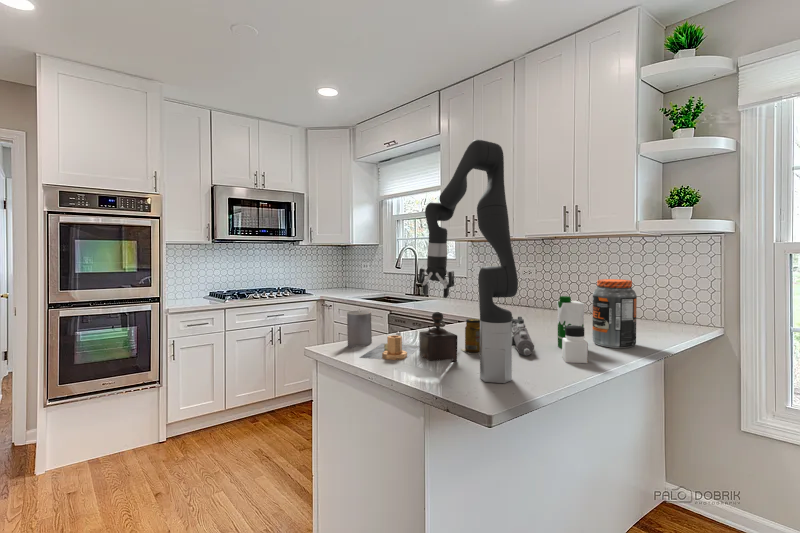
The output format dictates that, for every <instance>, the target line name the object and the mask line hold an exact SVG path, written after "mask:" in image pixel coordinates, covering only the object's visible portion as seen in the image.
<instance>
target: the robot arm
mask: <svg viewBox="0 0 800 533" xmlns="http://www.w3.org/2000/svg"><path fill="white" fill-rule="evenodd" d="M504 157H505V156H504V150H503V148H502V146H501V145H500V144H498V143H496V142H492V141H488V140H483V139H474V140H473V141H471V142H470V143H469V144H468V146H467V147H466V150H465V151H464V153H463V155H462V157H461V159H460V161H459V163H458V166H457V167H456V168H455V172H454V174H453V175H452V178H451V179H450V181H449V182H448V184H447V185H446V186H445V188H444V189H443V190H442V192H441V193H440V195H439V197H438V198H439V199H438V200H439V202H438V201H436V202H435V201H431V202H429V203H427V205H426V207H425V209H424V214H425V219H426V223H427V229H428V245H427V255H426V256H427V260H426V266H427V267H426V268H425V267H422V268H420V269H419V274H418V283H419V284H421V285H422V294H423V295H424V296H427V295H428V294H429V283H430V282H431V281H432V282H434V281H436V282H440V283H441V284H442V286H443V299H446V298H448V297H449V295H450V288H452V287H453V288H454V287H455V272H454V270H450V271H448V270H447V266H448V265H447V264H448V230H447V228H446V227H442V226H440V225H439V223H438V222H447V221H449V220H451V219H452V218H453V216H454V213H455V211H456V209H457V205H458V204H459V203H460V201H461V200H462V199H463V198H464V197H465V194H466V192H467V190H468V178H467V177H468V174H469V173H470V172H471V171H472V170H473V169H474V170H477V171H478V170H479V171H483V172H485V173H486V177H487V186H486V188H485V190H484V192H483V194H482V195H481V197H480V199H479V200H478V204H477V205H476V206H477V207H476V214H477V215H476V217H477V223H478V225H477V226H478V229H479V231H480V233H481V234H482V236H483V237H484V239H485V240H486V241H487V242H488V243H489V244H490V246H491V247H492V248H493V250H494V252H495V253H496V255H497V257H498V260H499V264H500V265H496V266H495V265H494V266H493V265H491V266H487V265H486V266H482V267H481V268H480V269H479V272H478V277H477V278H478V279H477V280H478V297H479V298H478V301H479V302H478V303H479V306H478V307H479V308H478V309H479V320H480V354H479V379H481V380H482V381H483V382H485V383H498V384H506V383H508V382H511V381H512V379H513V363H512V362H513V360H512V359H513V353H512V352H513V344H512V317H513V314H512V311H511V310H508V309H506V308H502V307H500V306H498V305H496V304H495V303H494V298H496V299H497V298H513V297H515V296H516V295H517V294H518V290H519V279H518V273H517V268H516V263H515V259H514V258H515V257H514V253H513V248H512V241H511V233H510V220H509V213H508V212H509V211H508V206H507V199H506V188H505V162H504V160H505V159H504ZM426 275H427V276H426ZM425 276H426V277H425ZM446 276H447V277H448V279H447V277H446Z"/></svg>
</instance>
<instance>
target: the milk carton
mask: <svg viewBox="0 0 800 533" xmlns="http://www.w3.org/2000/svg"><path fill="white" fill-rule="evenodd" d="M571 298H572V297H571V296H567V295H562V296H559V300H557V301H556V306H557V347H558V348H560V349H561V350H562V338H566V337H565V327H566V326H568V325H579V326H582V327H584V326H585V324H584V320H585V318H584V315H585V303H584V302H582V301H577V300H573V301H572V300H571ZM584 328H585V327H584Z"/></svg>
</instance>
